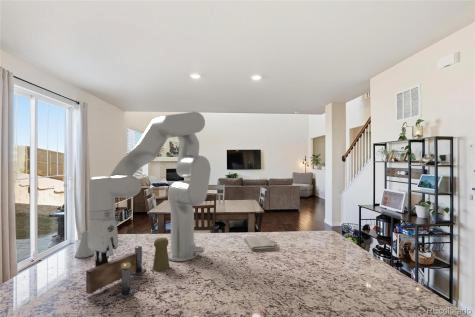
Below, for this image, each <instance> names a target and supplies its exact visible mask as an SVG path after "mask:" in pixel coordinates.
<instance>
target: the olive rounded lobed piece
mask: <svg viewBox="0 0 475 317" xmlns="http://www.w3.org/2000/svg"><path fill="white" fill-rule="evenodd" d="M153 245H154V246H153V247H154V248H155V250H154V256H153V257H154V258H153V263H152V264H153V265H152V271H154V272H163V271H164V272H165V271H167V270H169V269H170V268H171V267H170V260H169V259H168V253H169V252H168V246H169V240H168V238H167V237H158V238H156V239H155V240H154V242H153Z"/></svg>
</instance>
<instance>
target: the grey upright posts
mask: <svg viewBox="0 0 475 317" xmlns="http://www.w3.org/2000/svg"><path fill="white" fill-rule="evenodd" d="M134 253H136V272H134V273H132V274H130V267H131V263H123V264H121V279H120V280H121V281H120V282H121V284H120V285H121V287H120V290H119V292H118V293H117V294H116V295H115V298H122V299H123V298H128V299H129V298H130V297H131V296H132V295H133V294H134V293H135V291H136V288H131V276H133V275H135V276H142V275H143V274H144V273H145V272H146V271H147V268H145V267H144V268H143V247H142V246H140V245H137V246H135V247H134Z"/></svg>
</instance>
